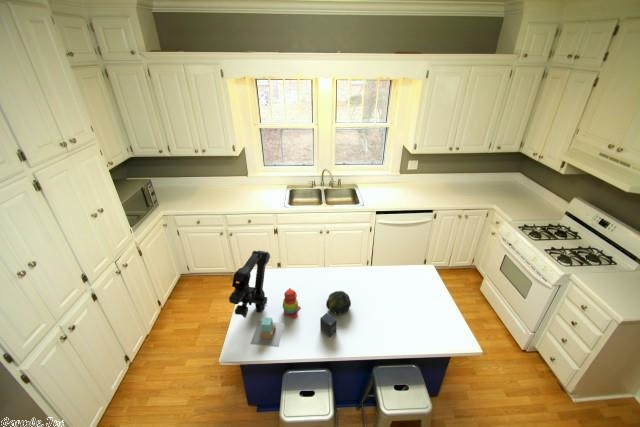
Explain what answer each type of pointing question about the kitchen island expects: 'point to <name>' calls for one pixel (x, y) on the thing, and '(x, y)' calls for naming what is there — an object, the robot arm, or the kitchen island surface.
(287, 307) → the stacking bear
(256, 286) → the robot arm
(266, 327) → the teal brick
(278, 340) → the baseplate
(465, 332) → the kitchen island surface
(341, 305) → the squash
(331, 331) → the box
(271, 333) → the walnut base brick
